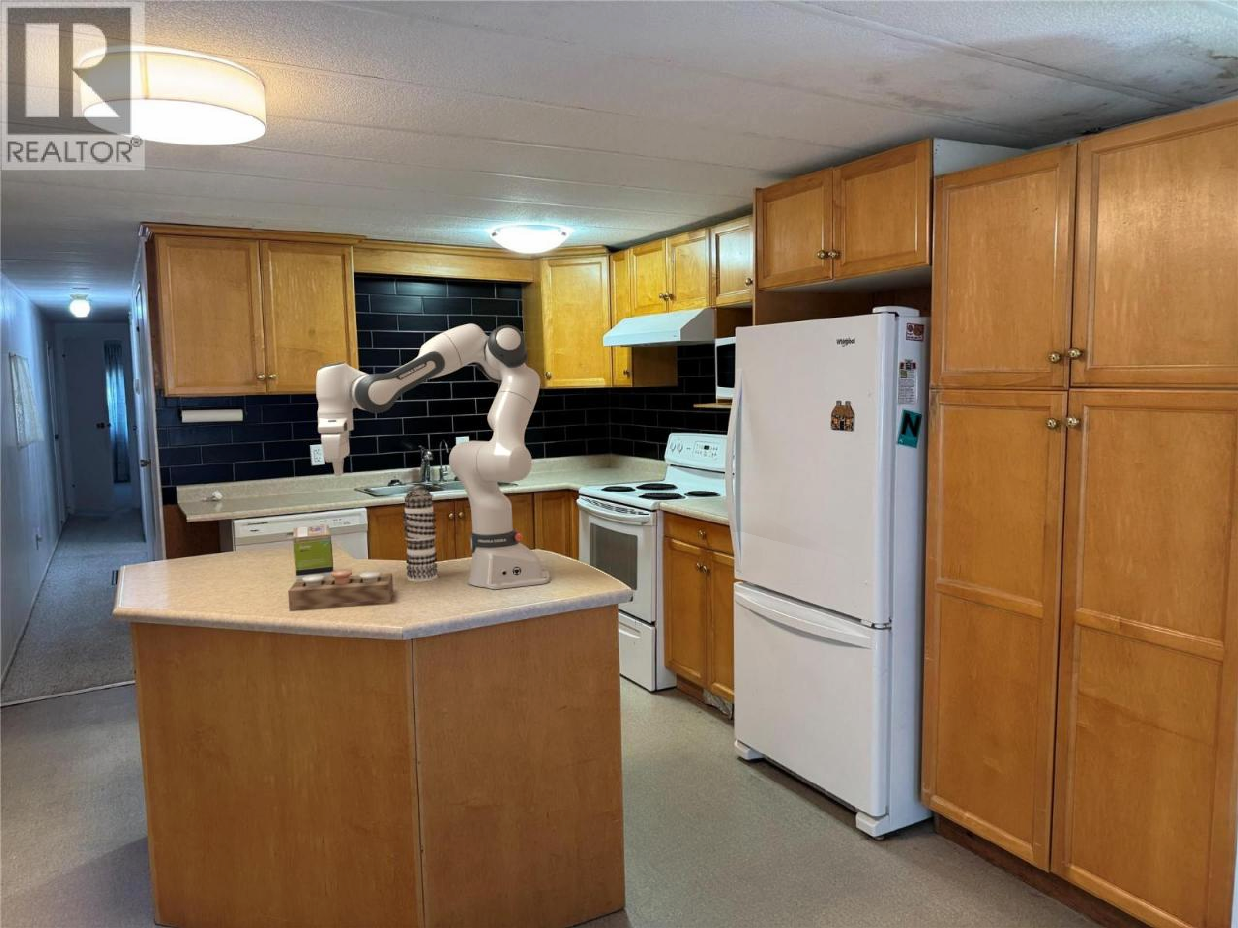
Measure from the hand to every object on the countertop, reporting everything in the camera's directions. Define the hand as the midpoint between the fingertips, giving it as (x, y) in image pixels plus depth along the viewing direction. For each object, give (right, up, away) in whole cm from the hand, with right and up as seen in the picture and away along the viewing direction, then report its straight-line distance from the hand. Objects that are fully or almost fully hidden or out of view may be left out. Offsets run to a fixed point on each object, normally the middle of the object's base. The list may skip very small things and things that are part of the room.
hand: (338, 475), depth 223 cm
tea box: (-11, -30, +14) cm, 35 cm away
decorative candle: (+19, -30, +14) cm, 38 cm away
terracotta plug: (+4, -30, -8) cm, 31 cm away
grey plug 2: (+11, -31, -7) cm, 33 cm away
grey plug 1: (-3, -31, -9) cm, 33 cm away
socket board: (+4, -32, -8) cm, 33 cm away
